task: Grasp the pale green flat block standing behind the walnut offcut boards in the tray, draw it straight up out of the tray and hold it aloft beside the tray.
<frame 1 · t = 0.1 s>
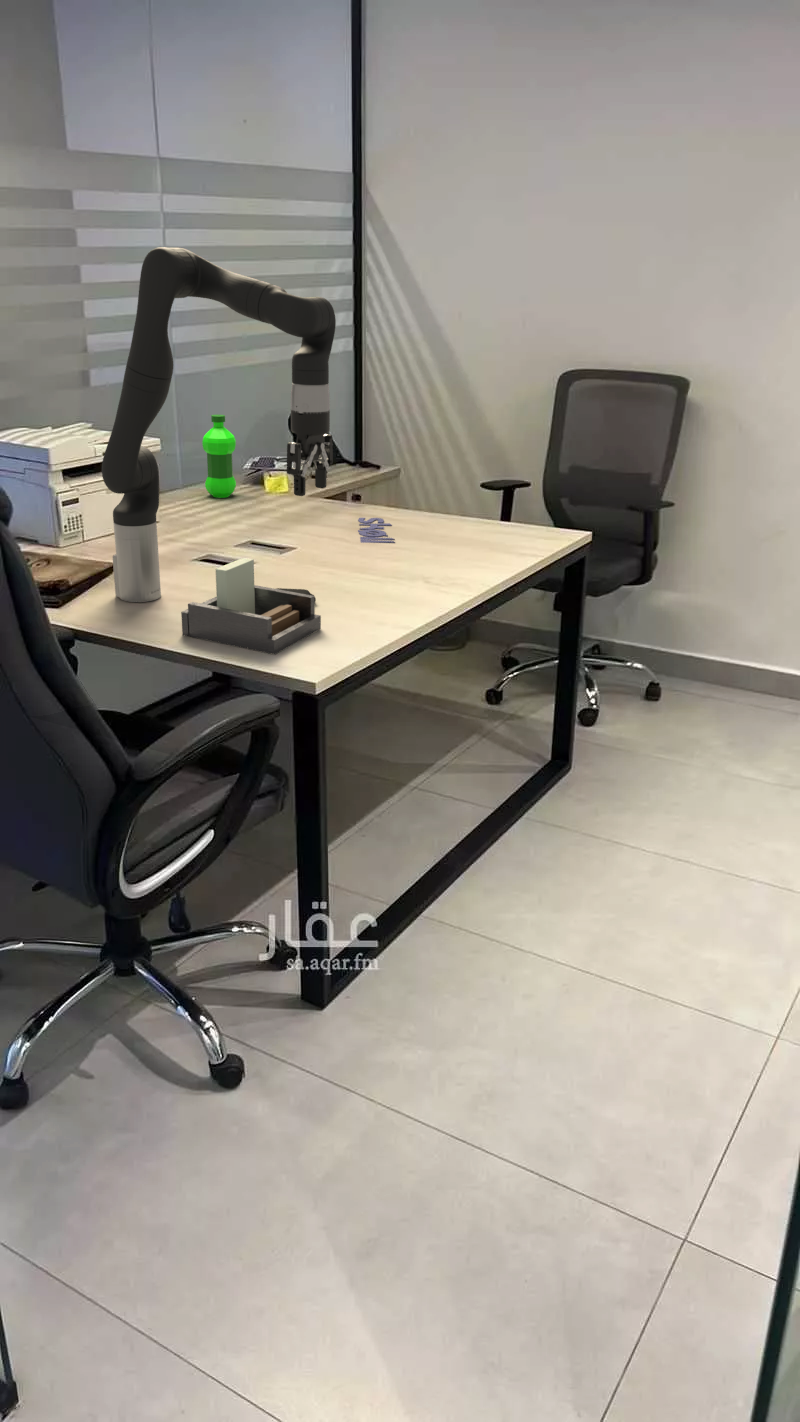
hand: (310, 491, 213), 29 cm above the table, fingers open, 8 cm apart
pale green flat block: (237, 629, 224), resting in tray
tray: (253, 632, 222), on the table
carrying case or bag: (290, 610, 238), on the table
signage: (375, 532, 306), on the table
offcut stack: (275, 637, 220), resting in tray
plastic bottle: (221, 496, 340), on the table
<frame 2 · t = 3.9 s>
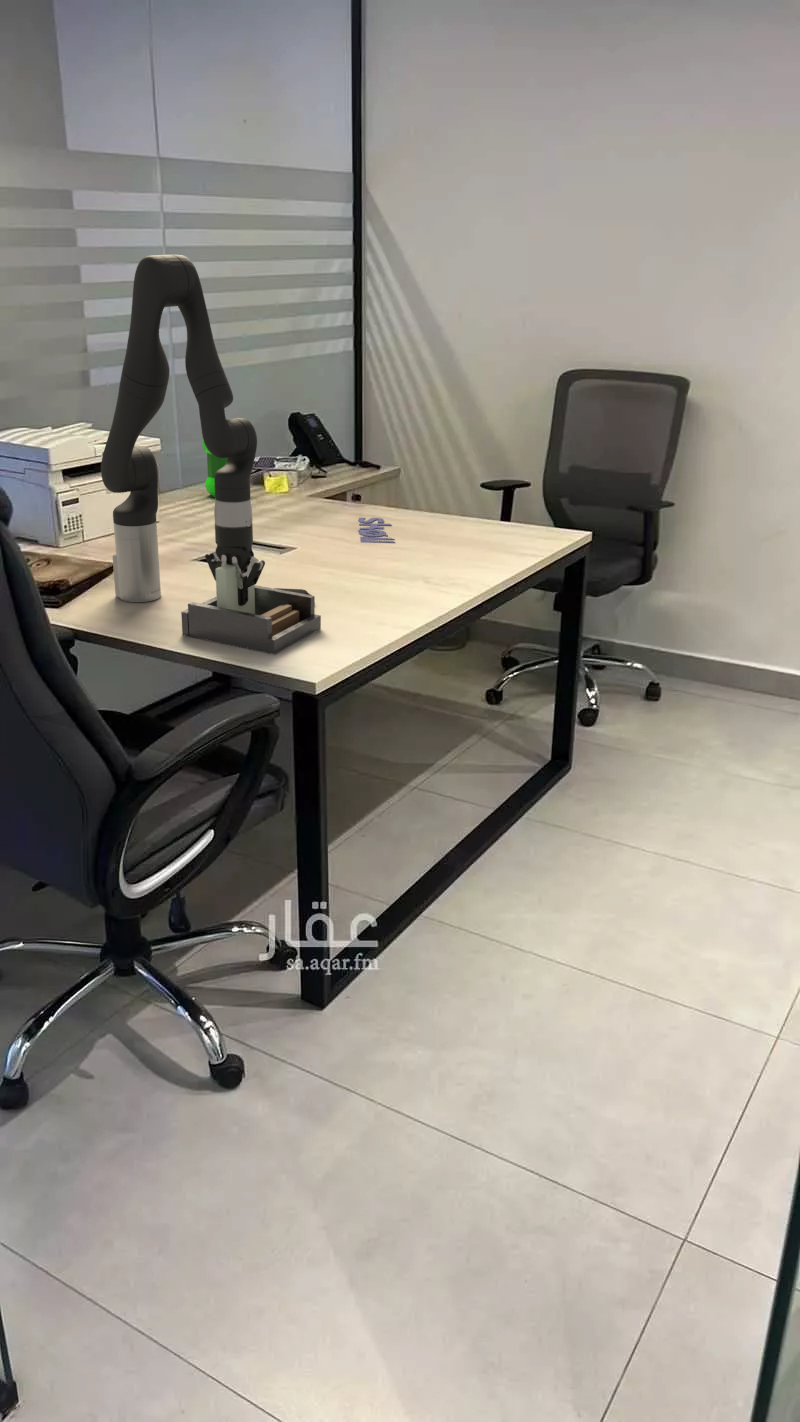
hand: (236, 603, 221), 6 cm above the table, fingers closed on pale green flat block, 2 cm apart
pale green flat block: (237, 628, 224), resting in tray, touching gripper
everything else where it was.
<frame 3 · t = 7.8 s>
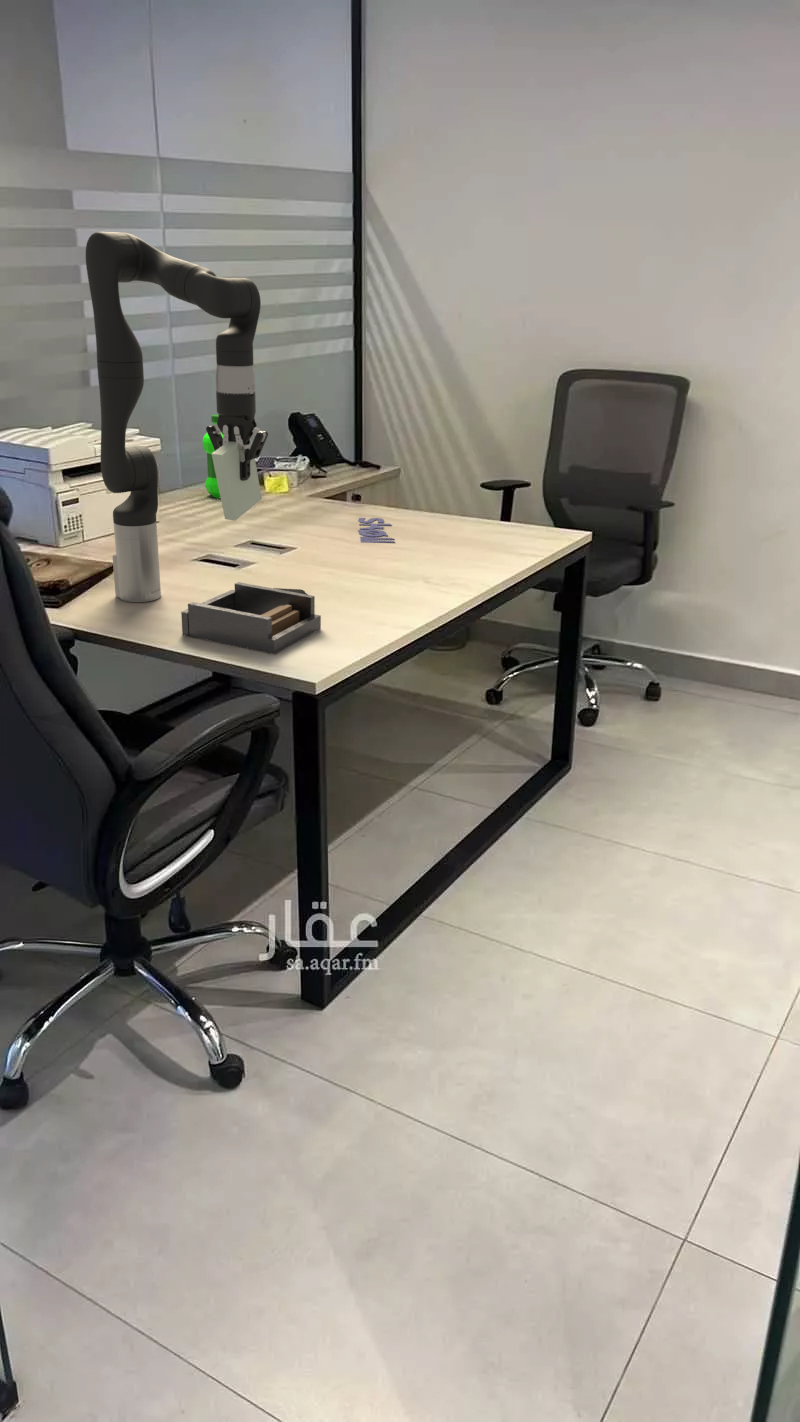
hand: (238, 478, 213), 31 cm above the table, fingers closed on pale green flat block, 2 cm apart
pale green flat block: (243, 508, 217), point 25 cm above the table, tilted 15°, touching gripper
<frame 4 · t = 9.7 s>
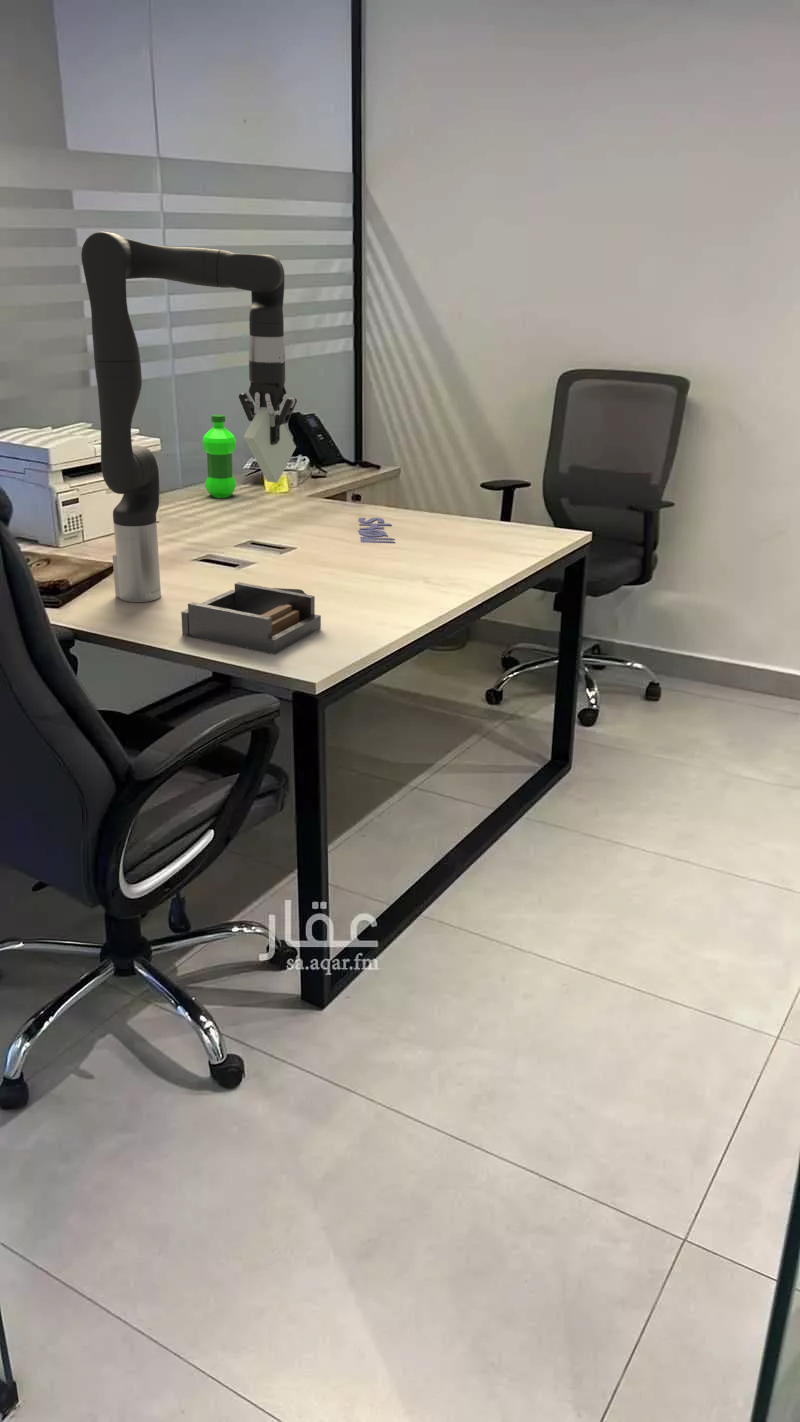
hand: (268, 443, 229), 35 cm above the table, fingers closed on pale green flat block, 2 cm apart
pale green flat block: (281, 464, 236), point 30 cm above the table, tilted 40°, touching gripper
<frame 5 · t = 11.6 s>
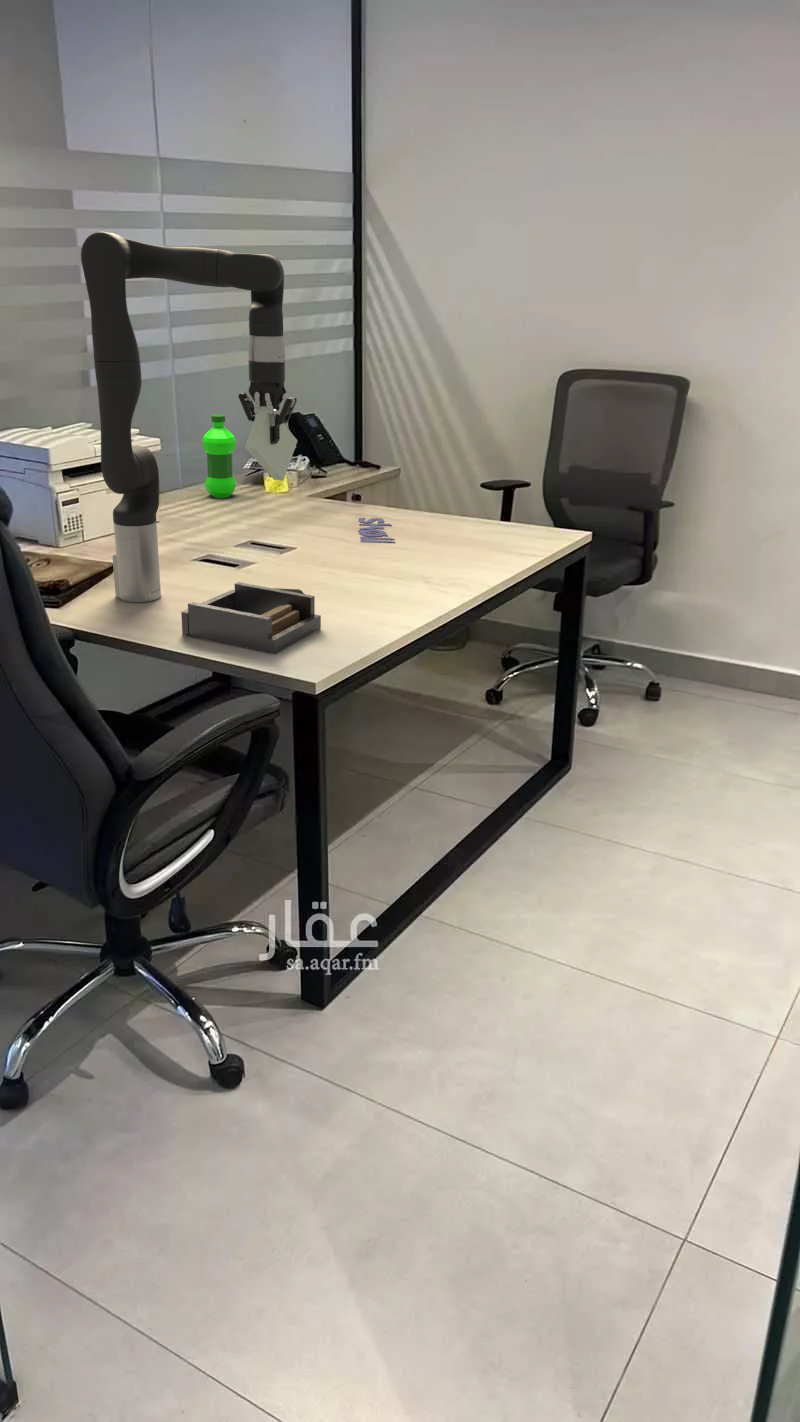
hand: (268, 442, 229), 35 cm above the table, fingers closed on pale green flat block, 2 cm apart
pale green flat block: (285, 460, 237), point 30 cm above the table, tilted 52°, touching gripper
at the end: the gripper is holding pale green flat block; pale green flat block inside the target area (6.8 cm from its centre), point 30.3 cm above the table; offcut stack moved 0.2 cm from its start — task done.
